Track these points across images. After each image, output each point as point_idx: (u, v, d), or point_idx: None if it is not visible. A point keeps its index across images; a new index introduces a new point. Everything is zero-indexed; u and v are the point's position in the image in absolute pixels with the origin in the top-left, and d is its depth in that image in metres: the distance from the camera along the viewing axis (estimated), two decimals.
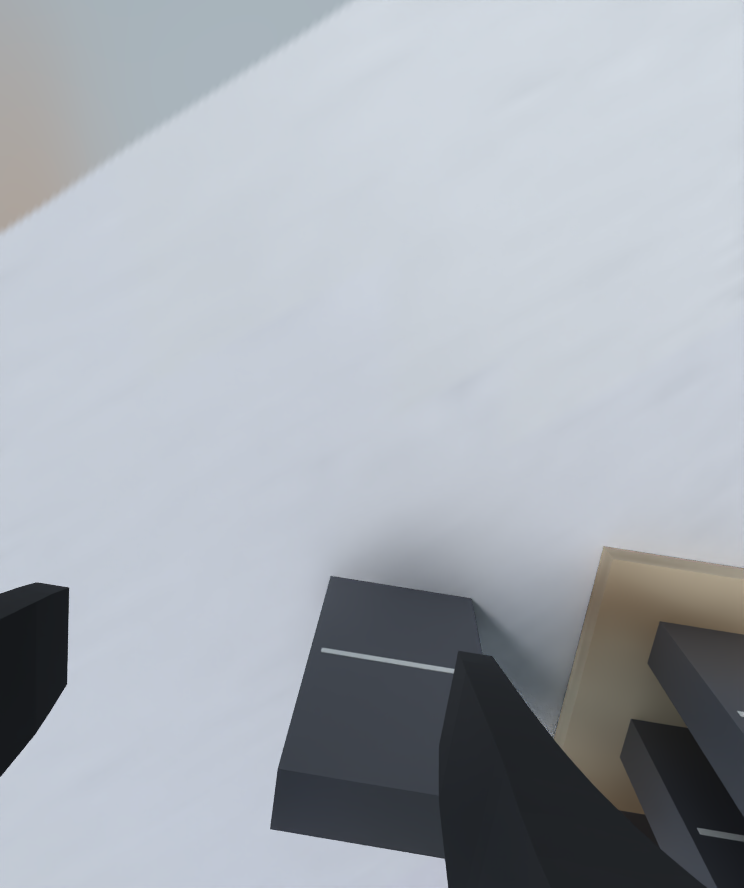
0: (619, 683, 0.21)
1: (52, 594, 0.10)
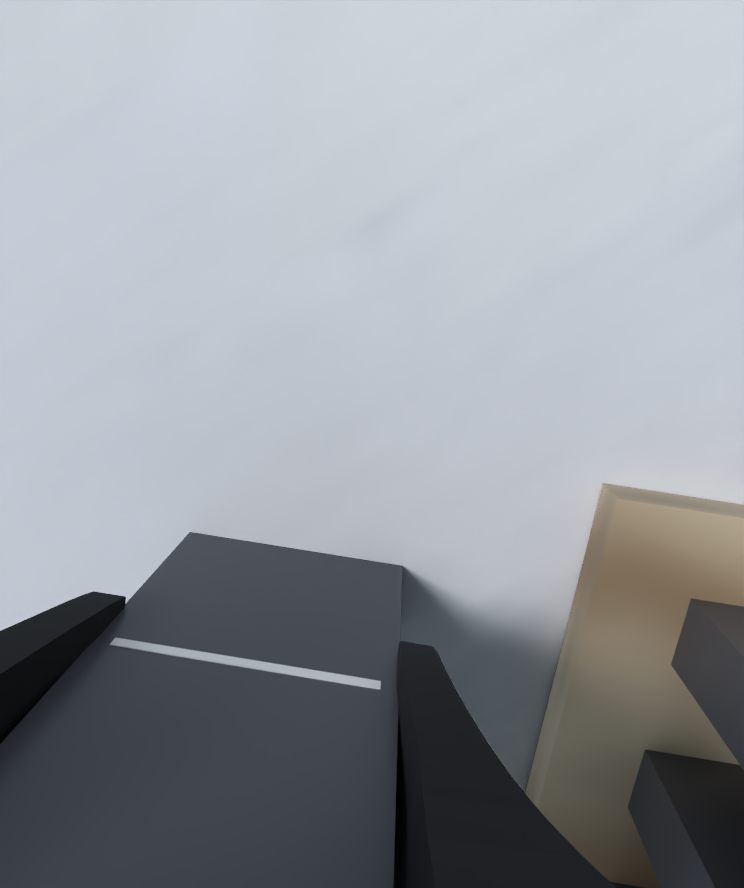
0: (627, 695, 0.14)
1: (112, 604, 0.10)
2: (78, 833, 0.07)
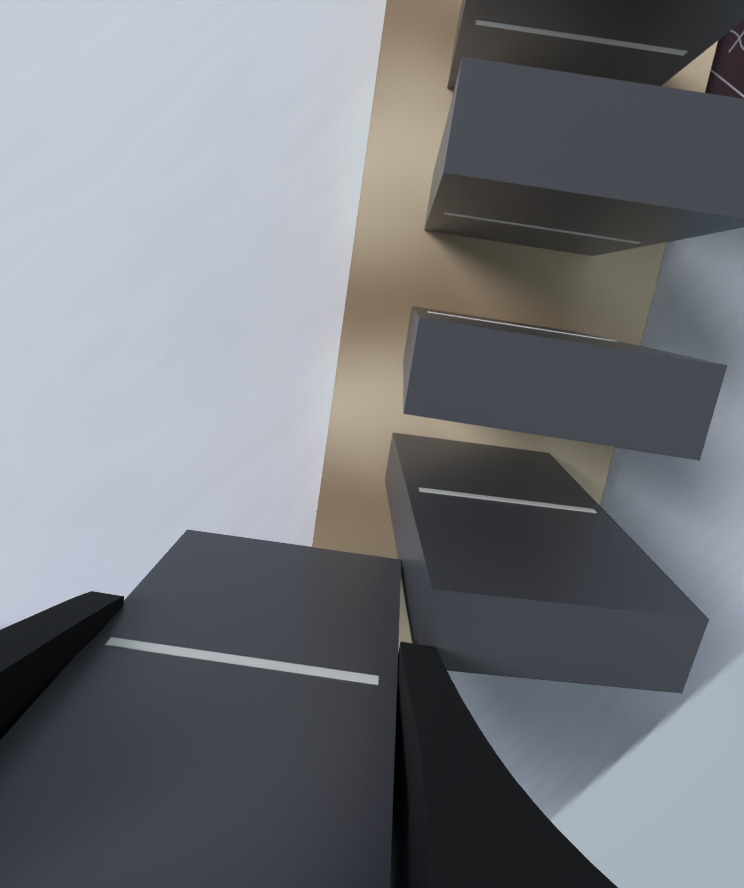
0: (416, 120, 0.18)
1: (110, 604, 0.10)
2: (71, 836, 0.07)
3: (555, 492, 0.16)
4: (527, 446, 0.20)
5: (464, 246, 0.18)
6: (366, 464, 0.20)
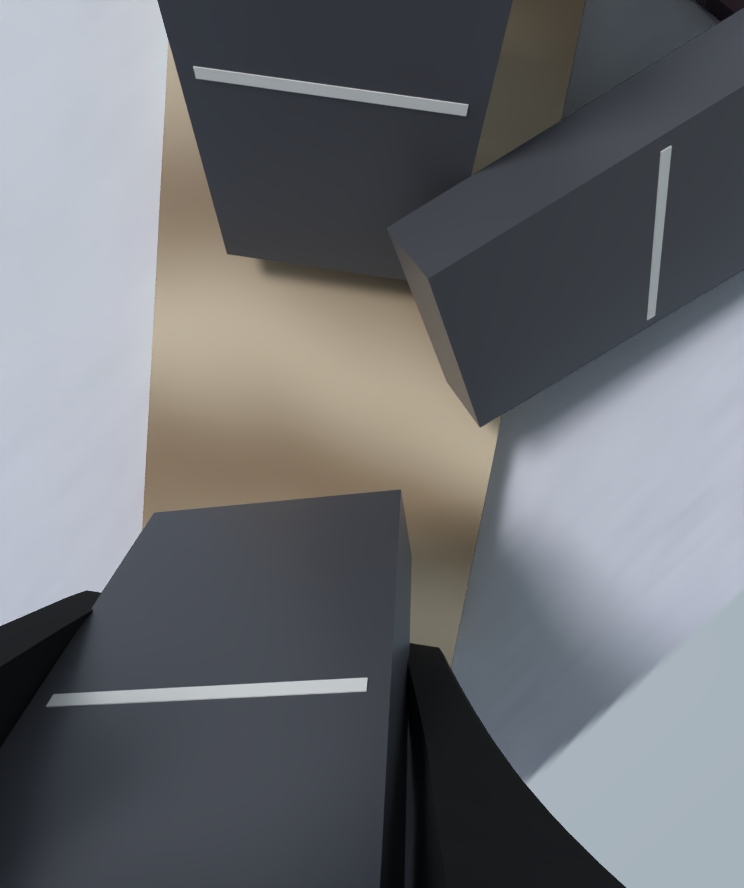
0: None
1: None
2: None
3: None
4: (399, 383, 0.16)
5: None
6: (200, 408, 0.16)
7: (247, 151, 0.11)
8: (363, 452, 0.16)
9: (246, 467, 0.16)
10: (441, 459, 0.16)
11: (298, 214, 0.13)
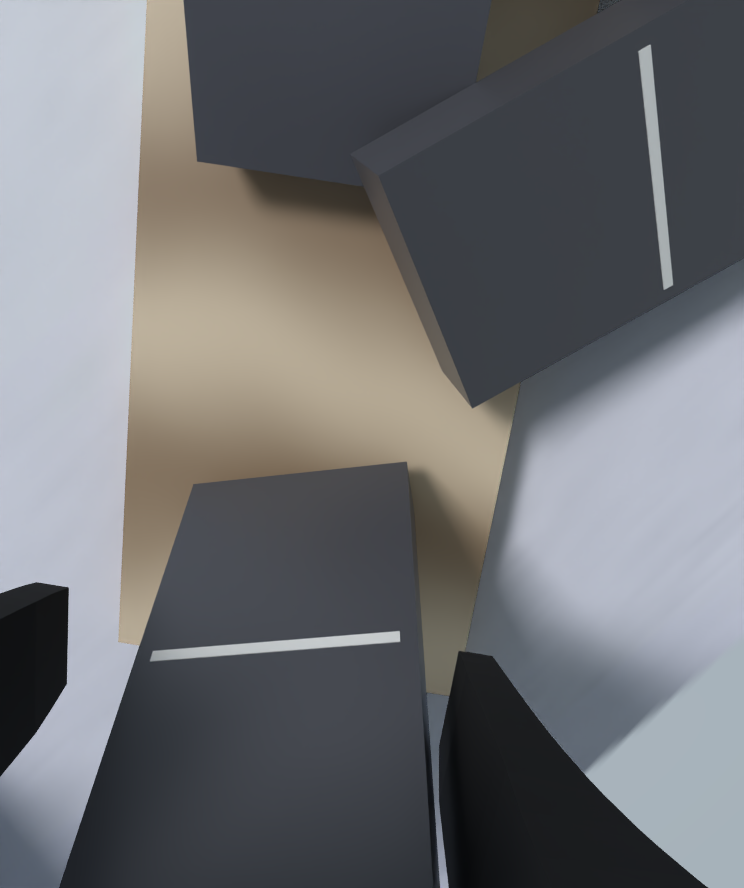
0: None
1: (52, 594, 0.10)
2: (169, 880, 0.08)
3: None
4: (400, 390, 0.14)
5: None
6: (184, 417, 0.15)
7: None
8: (361, 465, 0.15)
9: None
10: (445, 473, 0.15)
11: (288, 80, 0.11)
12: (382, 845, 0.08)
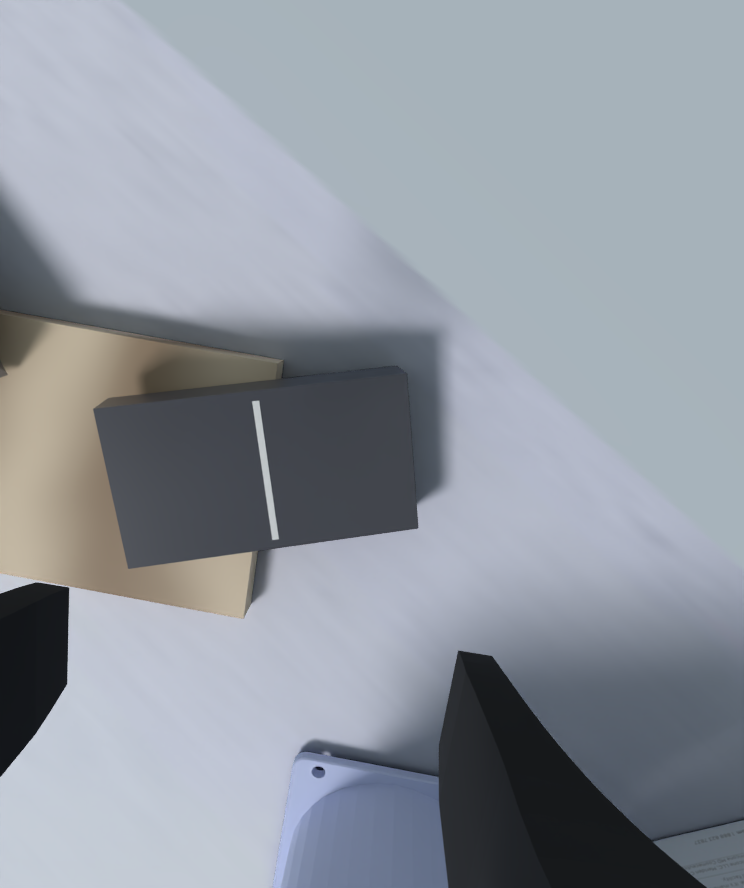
0: None
1: (52, 594, 0.10)
2: (379, 487, 0.19)
3: None
4: (33, 402, 0.20)
5: None
6: (67, 549, 0.21)
7: None
8: (89, 431, 0.20)
9: (110, 522, 0.21)
10: (88, 370, 0.20)
11: None
12: (362, 399, 0.18)
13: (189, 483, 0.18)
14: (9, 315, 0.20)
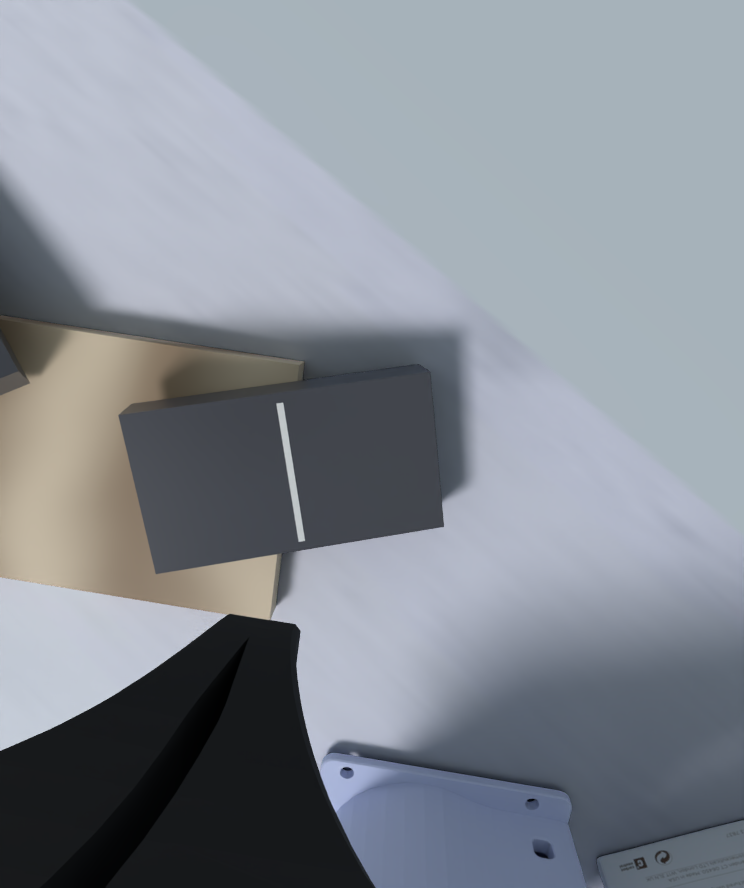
0: None
1: (255, 627, 0.10)
2: (405, 487, 0.19)
3: None
4: (55, 410, 0.20)
5: None
6: (92, 556, 0.21)
7: None
8: (111, 438, 0.20)
9: (134, 527, 0.21)
10: (110, 376, 0.20)
11: None
12: (386, 399, 0.18)
13: (215, 487, 0.18)
14: (30, 323, 0.20)
